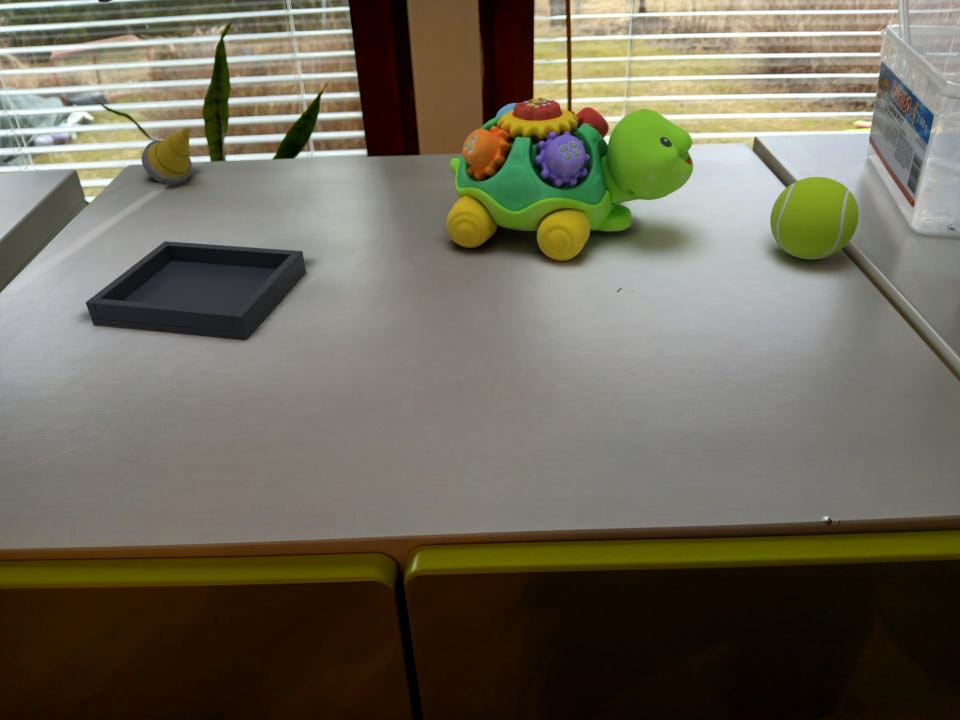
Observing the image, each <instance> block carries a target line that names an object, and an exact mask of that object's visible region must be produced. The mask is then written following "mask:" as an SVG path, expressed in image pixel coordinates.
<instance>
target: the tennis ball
mask: <svg viewBox="0 0 960 720" xmlns="http://www.w3.org/2000/svg"><path fill="white" fill-rule="evenodd" d="M858 222H859V207H858V203H857V200H856V199H855V196H854V194H853V193H852V191H850V190H849V188H848V187H847V186H845V184H843V183H841V182H839V181H838V180H835V179H832V178H829V177H824V176H811V177H810V176H809V177H805V178H801V179H798V180H796V181H795V182H793V183H791V184H789V185H788V186H787V187H786V188H785V189H784V190H782V192H781V193H780V194H779V195H778V196H777V198H776V200H775V201H774V204H773V205H772V209H771V213H770V230H771V234H772V236H773V238H774V241H775V242H776V243H777V245H778V246H779V247H780V248H781V249H782V250H783V251H784V252H785V253H787V254H788V255H790V256H793V257H795V258H798V259H802V260H808V261H809V260H810V261H811V260H812V261H813V260H821V259H825V258H829V257H831V256H833V255H834V254H836V253H838V252H840V251H841V250H842V249H844V247H846V246H847V244H849V243H850V241H851V240H852V238H853V237H854V235H855V233H856V230H857V227H858V224H859V223H858Z"/></svg>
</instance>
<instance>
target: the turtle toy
mask: <svg viewBox="0 0 960 720" xmlns="http://www.w3.org/2000/svg"><path fill="white" fill-rule="evenodd" d="M609 127H610V126H609V124H608V122H607V120H606V119H605V117H604V116H603V115H602V114H601V113H600V112H598V111H597V110H596V109H595V108H592V107H589V106H588V107H584V108H582V109H581V110H579V111H578V112H577V113H576V112H575V111H573V110H570V111H569V110H567V109H564V108H561V105H560V103H559V102H558V101H555V99H552V100H551V99H547V98H542V97H538V98H531V99H528V100H525V101H522V102H513V103H508V104H506V105H505V106H503V107H501V108H500V109H499V110H498V112H497V113H496V115H495V117H494V118H492V119H489V120H488V121H486V123H484V124H482V126H481V127H480V128H477V129H474V130H473V131H472V132H471V133H470V134H469V135H468V136H467V137H466V138H465V141H464V143H463V145H462V153H461V156H460V158H458V157H453V158H452V159H450V161H449V169H450V172H451V173H452V174H453V175H454V188H455V191H456V195H457V196H458V200H456V202H454V204H453V206H452V208H451V210H450V211H449V212H448V214H447V216H446V219H445V220H446V222H445V227H446V230H447V234H448V235H449V237H450V239H451V240H452V241H453V242H454V243H455V244H456V245H459V246H460V247H464V248H468V249H473V248H477V247H479V246H481V245H483V244H484V243H485V242H486V241H487V240H489V239H490V238H492V236H493V235H494V234H495V233H496V231H497V229H498V227H502V228H505V229H508V230H516V231H522V232H523V231H524V232H536V241H537V245H538V247H539V249H540V251H541V252H542V253H543V254H544V255H545V256H546V257H548V258H550V259H552V260H555V261H559V262H561V261H563V262H564V261H569V260H571V259H574V258H575V257H576V256H578V255H579V253H580V252H581V251H582V250H583V248H584V246H585V245H586V243H587V242H588V240H589V238H590V234H591V231H598V232H599V231H600V232H620V231H625V230H627V229H628V228H629V227H630V226H631V225H632V223H633V221H632V220H633V219H632V218H633V217H632V211H631V209H630V208H629V207H628V206H625V205H623V204H620V203H626V202H631V201H637V200H641V201H655V200H660V199H662V198H665V197H667V196H669V195H671V194H673V193H675V192H676V191H679V189H681V188H682V187H683V186H685V184H686V183H687V182H688V181H689V180H690V178H691V176H692V174H693V171H694V161H693V159H692V156H691V154H690V152H689V150H690V149H691V148H692V146H693V139H692V137H691V134H690V133H689V132H687V130H685V129H683V128H682V127H679V126H678V125H677V124H675V123H673V122H671V121H670V120H668V119H667V118H666V117H665V116H663V115H662V114H661V113H658V112H657V111H655V110H652V109H648V108H647V109H646V108H641V109H637V110H635V111H632V112H630V113H627V114H626V115H624V116H623V117H622V118H621V119H620V120H619V122H618V123H617V124H616V125H615V126H614V127H613V129H612V131H611V133H610V136H609V140H608V143H607V141H606V140H605V138H606V136H607V134H608V133H609V129H610V128H609Z"/></svg>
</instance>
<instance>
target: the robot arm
mask: <svg viewBox="0 0 960 720" xmlns="http://www.w3.org/2000/svg"><path fill="white" fill-rule="evenodd" d="M97 1H98V2H99V3H110V2H112V1H113V0H97Z"/></svg>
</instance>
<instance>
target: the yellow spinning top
mask: <svg viewBox="0 0 960 720" xmlns="http://www.w3.org/2000/svg"><path fill="white" fill-rule="evenodd" d="M141 164H142V167H143V169H144V170H145V171H146V173H147V174H148V175H149V176H150V177H151V178H152V179H153V180H155V181H157V182H159V183H162V184H163V185H167V186H179V185H182V184H184V183H185V182H186V181H187V180H188V179H189V177H190V176H191V174H192V172H193V162H192V160H191V157H190V128H189V127H185V128H184V129H181V130H180V131H177V132H175V133H174V134H172V135H170V136H167V137H166V138H164V139H156V140H152V141H150V142H149V143H147V145H146V146H145V148H144V149H143V151H142V153H141Z"/></svg>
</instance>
